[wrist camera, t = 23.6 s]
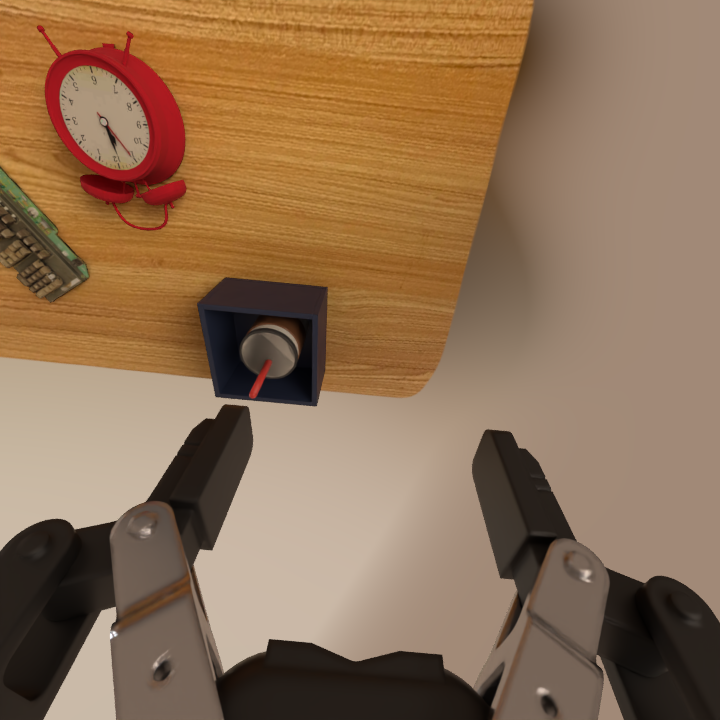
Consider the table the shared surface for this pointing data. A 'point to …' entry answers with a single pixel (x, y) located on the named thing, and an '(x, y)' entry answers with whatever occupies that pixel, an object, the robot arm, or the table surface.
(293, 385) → the bin
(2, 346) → the table surface
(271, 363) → the paper cup
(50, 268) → the keyboard
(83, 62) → the alarm clock
